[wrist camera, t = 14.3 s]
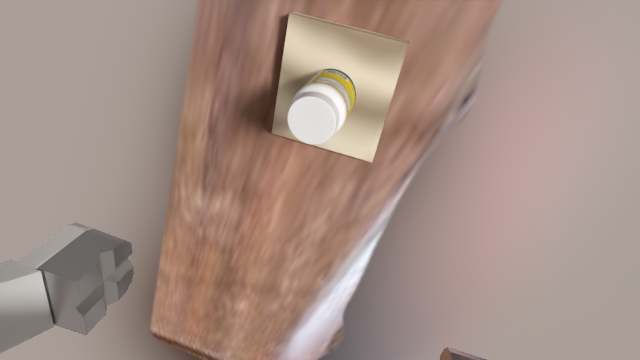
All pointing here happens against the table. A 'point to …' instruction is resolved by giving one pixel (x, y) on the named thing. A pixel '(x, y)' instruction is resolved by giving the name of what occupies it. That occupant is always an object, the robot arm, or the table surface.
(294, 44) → the ash board
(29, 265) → the robot arm
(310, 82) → the supplement bottle
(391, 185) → the table surface
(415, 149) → the table surface
